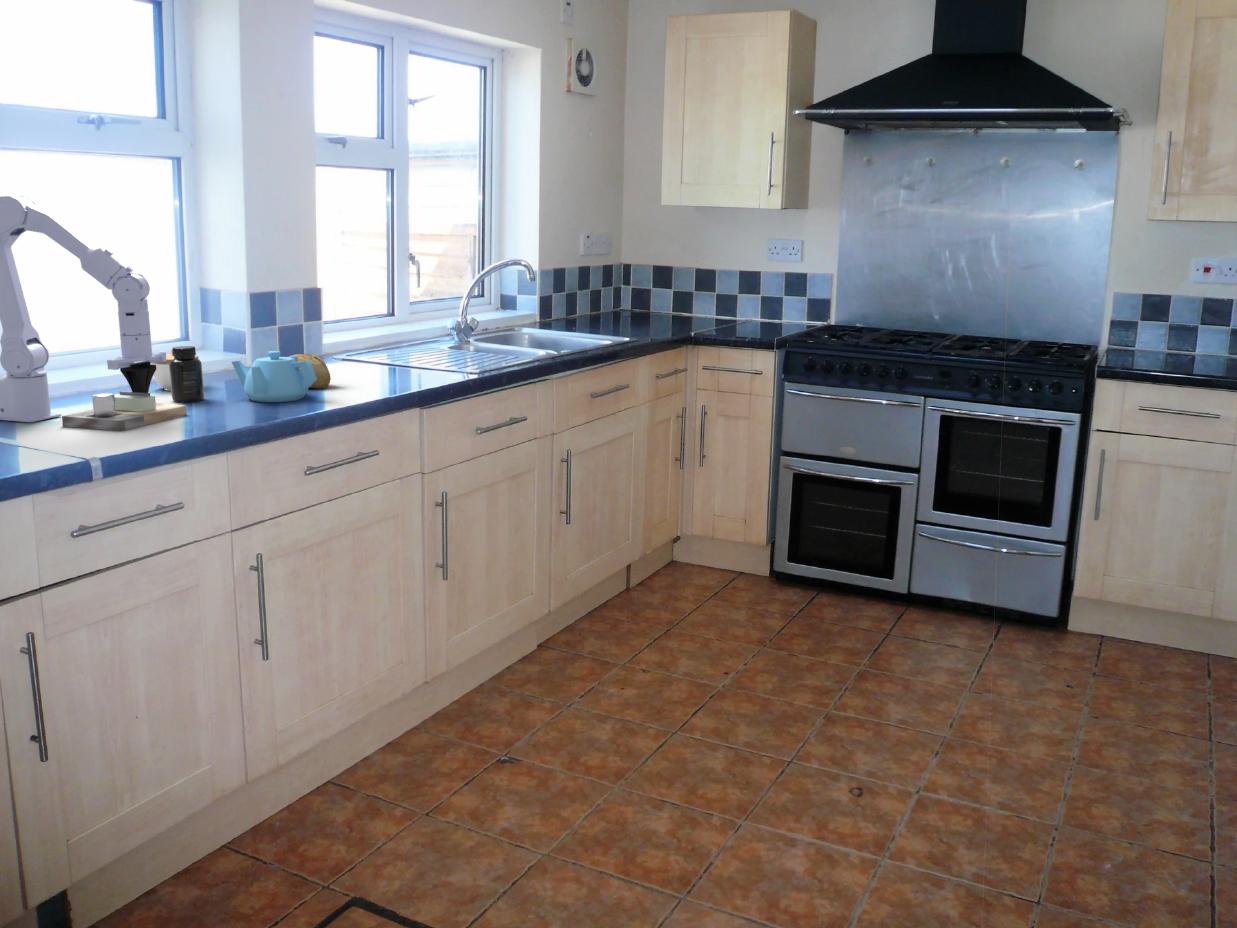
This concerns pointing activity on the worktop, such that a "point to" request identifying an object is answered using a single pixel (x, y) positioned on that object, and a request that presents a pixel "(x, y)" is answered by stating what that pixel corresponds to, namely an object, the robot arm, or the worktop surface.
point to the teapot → (276, 378)
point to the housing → (124, 418)
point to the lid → (134, 401)
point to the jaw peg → (104, 405)
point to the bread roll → (316, 370)
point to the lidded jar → (164, 372)
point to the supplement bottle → (186, 375)
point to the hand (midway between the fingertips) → (141, 400)
